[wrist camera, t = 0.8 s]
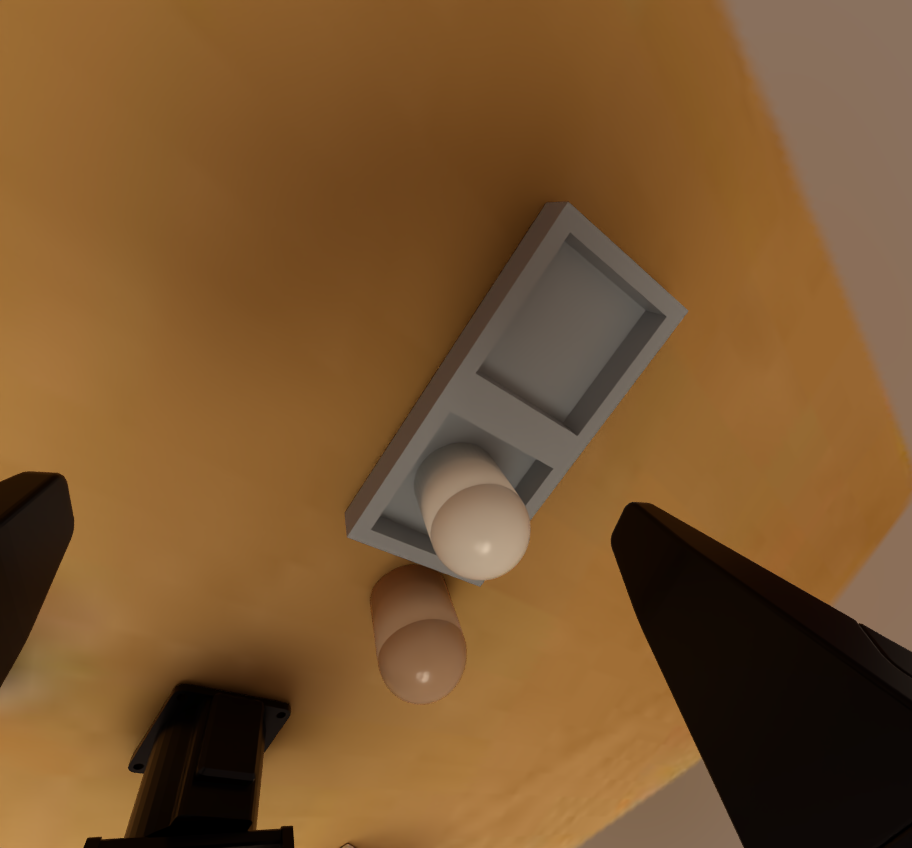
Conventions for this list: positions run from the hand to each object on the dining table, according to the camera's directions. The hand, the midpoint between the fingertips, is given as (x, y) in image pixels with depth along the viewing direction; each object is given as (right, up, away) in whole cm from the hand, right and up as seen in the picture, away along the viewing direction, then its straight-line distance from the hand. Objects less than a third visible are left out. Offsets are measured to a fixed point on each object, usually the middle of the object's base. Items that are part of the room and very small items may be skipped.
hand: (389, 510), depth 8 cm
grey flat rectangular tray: (+3, +2, +16) cm, 16 cm away
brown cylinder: (-2, -8, +19) cm, 21 cm away
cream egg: (+1, -1, +16) cm, 17 cm away
